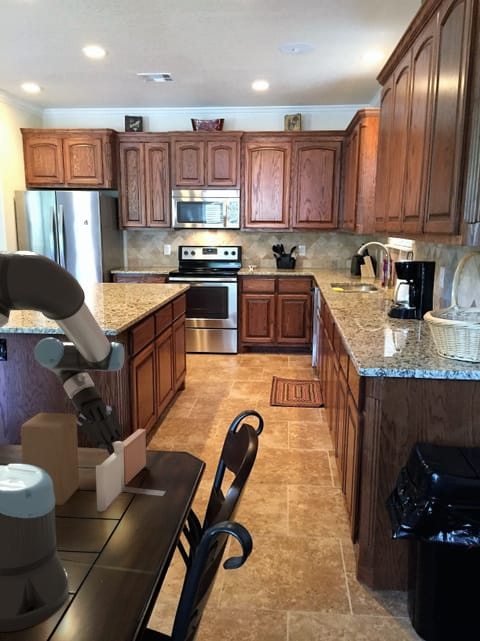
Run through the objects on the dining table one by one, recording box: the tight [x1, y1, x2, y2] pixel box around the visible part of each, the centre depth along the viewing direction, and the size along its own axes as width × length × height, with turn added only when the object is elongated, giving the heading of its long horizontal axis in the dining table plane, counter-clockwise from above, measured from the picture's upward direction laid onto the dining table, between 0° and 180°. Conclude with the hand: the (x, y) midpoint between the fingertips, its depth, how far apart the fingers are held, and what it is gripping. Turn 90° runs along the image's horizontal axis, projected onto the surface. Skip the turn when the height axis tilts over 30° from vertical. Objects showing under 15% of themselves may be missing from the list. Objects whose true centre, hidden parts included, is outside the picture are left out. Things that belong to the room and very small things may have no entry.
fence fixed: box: [95, 440, 125, 512], centre depth 120 cm, size 12×3×13 cm, turn 169°
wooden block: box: [20, 412, 80, 506], centre depth 121 cm, size 10×10×20 cm
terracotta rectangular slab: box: [122, 428, 147, 486], centre depth 132 cm, size 12×2×10 cm, turn 166°
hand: (124, 464), depth 133 cm, fingers closed
